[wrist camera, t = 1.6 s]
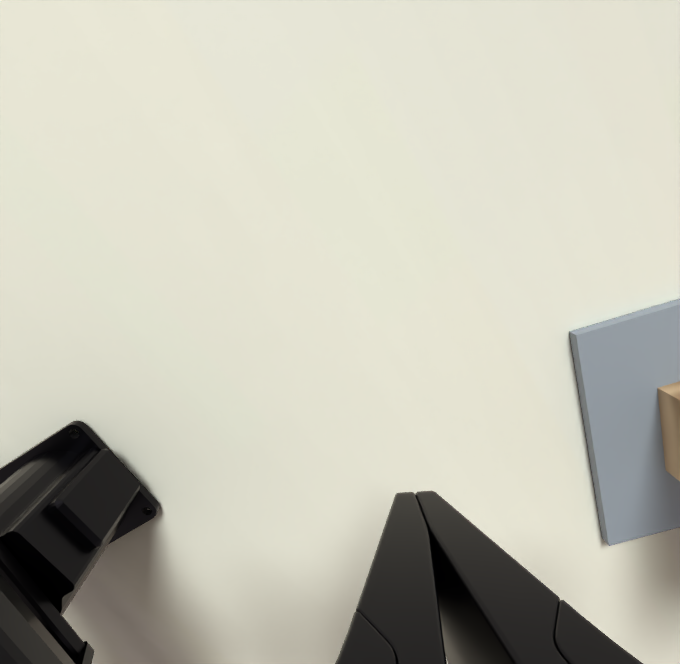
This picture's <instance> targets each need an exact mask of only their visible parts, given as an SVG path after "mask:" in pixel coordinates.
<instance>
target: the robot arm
mask: <svg viewBox="0 0 680 664" xmlns="http://www.w3.org/2000/svg"><path fill="white" fill-rule="evenodd" d="M74 429H76V430H77V431H78V432H79V434H77V433H75V432H74ZM146 507H148V508H150V509H151V510H148V509H147V508H146ZM159 508H160V507H159V503H158V502H157V501H156V500H155V499H154V497H153V496H152V495H151V494H150V493H149V492H148V491H147V490H146V489H145V488H144V487H143V486H142V484H141V483H140V482H139V481H138V480H137V479H136V478H135V477H134V476H133V475H132V474H131V473H130V471H129V470H128V469H127V468H126V467H125V466H124V465H123V464H122V463H121V462H120V461H119V460H118V458H117V457H116V456H115V455H114V454H113V453H112V452H111V451H110V450H109V449H108V448H107V447H106V445H105V444H104V443H103V442H102V441H101V440H100V439H99V438H98V437H97V436H96V435H95V434H94V432H93V431H92V430H91V429H90V428H89V427H88V426H87V425H86V424H85V423H84V422H81V421H73V422H71V423H70V424H68V425H66V426H65V427H63V428H62V429H60V430H59V431H57V432H56V433H54V434H53V435H51V436H49V437H48V438H46V439H45V440H43V441H42V442H40V443H39V444H37V445H36V446H34V447H32V448H31V449H29V450H28V451H26V452H25V453H23V454H22V455H20V456H19V457H17V458H15V459H14V460H12V461H11V462H9V463H8V464H6V465H5V466H3V467H2V468H0V664H91V663H92V659H93V655H94V650H93V648H92V647H91V646H90V645H89V644H88V642H87V641H85V642H83V641H82V640H81V638H80V637H79V636H78V635H77V634H76V632H75V631H74V630H73V629H72V627H71V626H70V625H69V624H68V622H67V621H66V620H65V619H64V617H63V616H62V615H63V613H64V611H65V610H66V608H67V607H68V605H69V604H70V602H71V601H72V599H73V598H74V596H75V594H76V593H77V591H78V590H79V588H80V587H81V585H82V584H83V582H84V581H85V579H86V578H87V576H88V574H89V573H90V571H91V570H92V568H93V567H94V565H95V564H96V562H97V561H98V559H99V557H100V556H101V554H102V553H103V551H104V550H105V548H106V547H107V545H108V544H110V543H111V542H113V541H115V540H116V539H118V538H120V537H122V536H123V535H125V534H127V533H128V532H130V531H132V530H133V529H135V528H137V527H139V526H140V525H142V524H144V523H145V522H147V521H149V520H150V519H152V518H154V517H155V516H156V514H157V512H158V510H159ZM559 601H560V602H559ZM445 654H446V656H445ZM446 657H447V661H448V664H643V663H641V662H640V661H639V660H637V659H636V658H635V657H633V656H632V655H631V654H629V653H628V652H627V651H625V650H624V649H623V648H621V647H620V646H619V645H618V644H616V643H615V642H614V641H612V640H611V639H610V638H609V637H607V636H606V635H605V634H604V633H602V632H601V631H600V630H599V629H597V628H596V627H595V626H594V625H593V624H591V623H590V622H589V621H588V620H586V619H585V618H584V617H583V616H581V615H580V614H579V613H578V612H577V611H576V610H574V609H573V608H572V607H571V606H570V605H568V604H567V603H566V602H565V601H564V600H560V599H559V597H558V596H557V595H556V594H555V593H553V592H552V591H551V590H550V589H549V588H547V587H546V586H545V585H544V584H543V583H542V582H540V581H539V580H538V579H537V578H536V577H535V576H533V575H532V574H531V573H530V572H529V571H527V570H526V569H525V568H524V567H523V566H522V565H520V564H519V563H518V562H517V561H516V560H515V559H513V558H512V557H511V556H510V555H509V554H507V553H506V552H505V551H504V550H503V549H502V548H500V547H499V546H498V545H497V544H496V543H495V542H493V541H492V540H491V539H490V538H489V537H487V536H486V535H485V534H484V533H483V532H482V531H480V530H479V529H478V528H477V527H476V526H475V525H473V524H472V523H471V522H470V521H469V520H467V519H466V518H465V517H464V516H463V515H462V514H460V513H459V512H458V511H457V510H456V509H455V508H453V507H452V506H451V505H450V504H449V503H448V502H446V501H445V500H444V499H443V498H442V497H440V496H439V495H438V494H437V493H436V492H434V491H421V492H417V493H416V494H414V493H413V492H405V493H397V494H396V495H395V498H394V501H393V504H392V506H391V509H390V512H389V515H388V518H387V521H386V524H385V527H384V530H383V533H382V536H381V539H380V541H379V544H378V547H377V550H376V553H375V556H374V559H373V562H372V565H371V568H370V571H369V574H368V576H367V579H366V582H365V585H364V588H363V591H362V594H361V597H360V600H359V603H358V606H357V609H356V612H355V613H354V616H353V619H352V622H351V625H350V627H349V630H348V633H347V635H346V638H345V641H344V643H343V646H342V648H341V651H340V654H339V656H338V659H337V661H336V663H335V664H447V663H446Z"/></svg>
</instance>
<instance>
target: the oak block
mask: <svg viewBox="0 0 680 664" xmlns="http://www.w3.org/2000/svg"><path fill="white" fill-rule="evenodd" d="M657 389H658V399H659V409H660V419H661V429H662V439H663V449H664V459H665V469H666V471H667V472H668V473H670V474H671V475H672V476H673V477H675V478H676V479H677V480H679V481H680V381H679V382H676V383H672V384H669V385H665V386H662V387H658V388H657Z"/></svg>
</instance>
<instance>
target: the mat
mask: <svg viewBox="0 0 680 664" xmlns="http://www.w3.org/2000/svg"><path fill="white" fill-rule="evenodd" d="M569 333H570V339H571V345H572V352H573V358H574V364H575V370H576V377H577V383H578V389H579V395H580V402H581V408H582V414H583V420H584V427H585V433H586V439H587V445H588V452H589V458H590V464H591V470H592V476H593V483H594V489H595V495H596V501H597V508H598V514H599V520H600V526H601V533H602V538H603V539H604V540H605V542H606V543H607V544H608V545H609V546H610V545H614V544H618V543H622V542H626V541H629V540H633V539H637V538H641V537H644V536H648V535H652V534H656V533H660V532H663V531H667V530H671V529H675V528H678V527H680V481H679V480H677V479H676V478H675V477H673V476H672V475H671V474H670V473H668V472H667V471H666V469H665V459H664V449H663V439H662V429H661V419H660V409H659V399H658V389H657V388H658V387H662V386H665V385H669V384H672V383H676V382H679V381H680V299H677V300H674V301H670V302H667V303H664V304H660V305H657V306H654V307H650V308H647V309H644V310H640V311H637V312H634V313H630V314H627V315H623V316H620V317H617V318H613V319H610V320H607V321H603V322H600V323H597V324H593V325H590V326H587V327H583V328H580V329H576V330H573V331H570V332H569Z"/></svg>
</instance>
